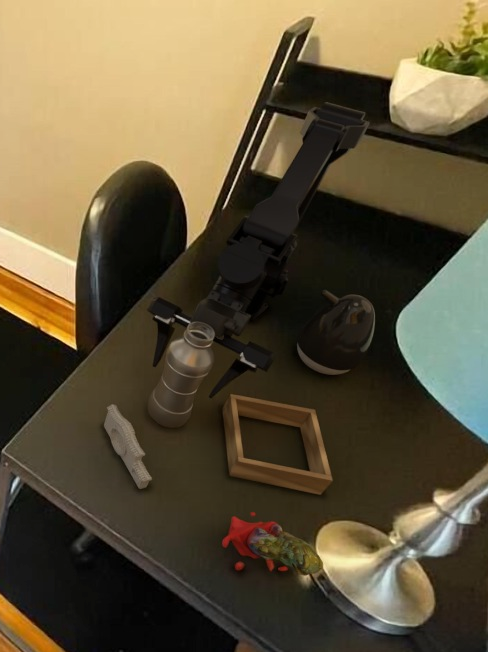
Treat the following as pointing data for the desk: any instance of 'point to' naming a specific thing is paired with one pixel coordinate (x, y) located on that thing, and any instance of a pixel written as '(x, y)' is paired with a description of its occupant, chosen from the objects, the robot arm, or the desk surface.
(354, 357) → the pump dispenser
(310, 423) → the square wooden frame
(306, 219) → the desk surface
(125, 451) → the garden wall model
